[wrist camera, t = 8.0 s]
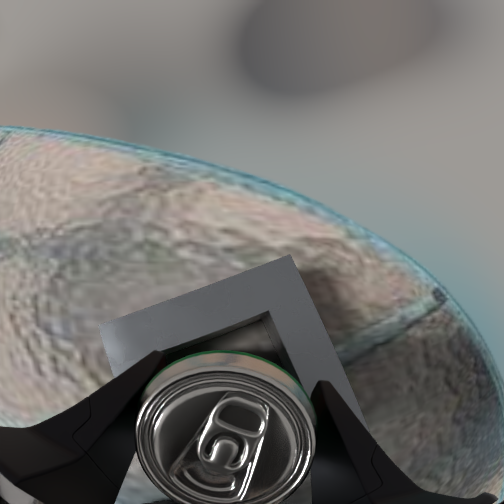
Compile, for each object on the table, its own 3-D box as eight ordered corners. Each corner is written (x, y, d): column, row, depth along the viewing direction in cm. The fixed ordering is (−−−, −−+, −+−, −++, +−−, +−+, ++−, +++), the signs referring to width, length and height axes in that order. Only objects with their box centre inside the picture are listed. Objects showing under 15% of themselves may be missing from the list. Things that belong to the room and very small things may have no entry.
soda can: (180, 405, 15) (98, 474, 4) (209, 339, 17) (164, 312, 6) (251, 434, 15) (279, 541, 4) (280, 368, 17) (362, 389, 5)
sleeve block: (347, 421, 15) (369, 431, 12) (187, 483, 13) (179, 506, 10) (280, 272, 19) (290, 254, 16) (120, 331, 17) (98, 325, 13)
